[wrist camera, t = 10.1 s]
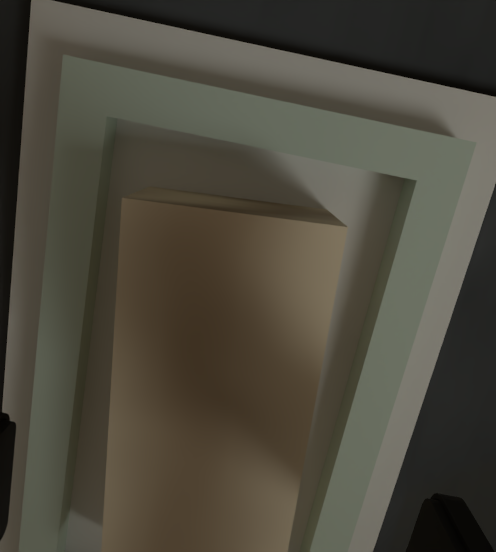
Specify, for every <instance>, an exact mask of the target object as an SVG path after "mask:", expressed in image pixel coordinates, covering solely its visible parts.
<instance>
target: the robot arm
mask: <svg viewBox="0 0 496 552" xmlns="http://www.w3.org/2000/svg"><path fill="white" fill-rule="evenodd" d="M15 437H16V423H15V422H13V421H10V417H9V415H8V414H7V413H3V412H0V541H1V539H2V537H3V535H4V533H5V530H6V528H7V524H8V517H9V506H10V494H11V483H12V471H13V460H14V448H15ZM406 552H494V550H493V549H492V547H491V545H490V543H489V542H488V540H487V538H486V537H485V535H484V533H483V532H482V530H481V528H480V527H479V525H478V523H477V522H476V520H475V518H474V517H473V515H472V513H471V512H470V510H469V508H468V507H467V505H466V503H465V502H464V501H463V499H461V498H459V497H454V496H448V495H443V494H438V493H436V494H434V495H433V496H432V497H431V499H425V500H424V502H423V504H422V507H421V510H420V513H419V515H418V518H417V521H416V524H415V527H414V530H413V533H412V536H411V539H410V541H409V544H408V547H407V550H406Z"/></svg>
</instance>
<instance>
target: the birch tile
mask: <svg viewBox="0 0 496 552" xmlns="http://www.w3.org/2000/svg"><path fill="white" fill-rule="evenodd" d="M347 230H348V227H347V226H346V225H345V224H344V223H342V222H341V221H340V220H339V219H338V218H336V217H335V216H334V215H333V214H332V213H331V212H329V211H328V210H326V209H319V208H311V207H303V206H296V205H288V204H280V203H273V202H265V201H257V200H250V199H242V198H234V197H227V196H219V195H212V194H204V193H196V192H189V191H181V190H173V189H166V188H158V187H147V188H145V189H142V190H140V191H138V192H135V193H133V194H130V195H128V196H125V197H123V198H122V204H121V221H120V238H119V255H118V272H117V289H116V307H115V324H114V341H113V358H112V375H111V392H110V409H109V426H108V444H107V461H106V478H105V495H104V512H103V529H102V546H101V552H288V547H289V541H290V536H291V531H292V525H293V520H294V514H295V509H296V504H297V498H298V493H299V488H300V482H301V477H302V471H303V466H304V461H305V455H306V450H307V445H308V439H309V434H310V428H311V423H312V418H313V412H314V407H315V402H316V396H317V391H318V386H319V380H320V375H321V369H322V364H323V359H324V353H325V348H326V343H327V337H328V332H329V326H330V321H331V316H332V310H333V305H334V300H335V294H336V289H337V283H338V278H339V273H340V267H341V262H342V257H343V251H344V246H345V240H346V235H347Z"/></svg>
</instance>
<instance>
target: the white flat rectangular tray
mask: <svg viewBox="0 0 496 552" xmlns="http://www.w3.org/2000/svg"><path fill="white" fill-rule="evenodd" d="M495 183H496V97H493V96H489V95H484V94H480V93H475V92H470V91H466V90H461V89H457V88H452V87H447V86H443V85H438V84H434V83H429V82H424V81H420V80H415V79H411V78H406V77H401V76H397V75H392V74H388V73H383V72H378V71H374V70H369V69H365V68H360V67H355V66H351V65H346V64H342V63H337V62H333V61H328V60H323V59H319V58H314V57H310V56H305V55H300V54H296V53H291V52H287V51H282V50H277V49H273V48H268V47H264V46H259V45H254V44H250V43H245V42H241V41H236V40H231V39H227V38H222V37H218V36H213V35H208V34H204V33H199V32H195V31H190V30H186V29H181V28H176V27H172V26H167V25H163V24H158V23H153V22H149V21H144V20H140V19H135V18H130V17H126V16H121V15H117V14H112V13H107V12H103V11H98V10H94V9H89V8H84V7H80V6H75V5H71V4H66V3H61V2H57V1H52V0H31V12H30V26H29V40H28V54H27V68H26V82H25V96H24V110H23V124H22V138H21V152H20V166H19V180H18V194H17V208H16V222H15V236H14V250H13V264H12V279H11V293H10V307H9V321H8V335H7V349H6V363H5V377H4V391H3V405H2V412H3V413H7V414H8V415H9V417H10V421H13V422H15V423H16V437H15V448H14V460H13V471H12V483H11V494H10V506H9V517H8V524H7V528H6V530H5V533H4V535H3V537H2V539H1V541H0V552H101V546H102V529H103V512H104V495H105V478H106V461H107V444H108V426H109V409H110V392H111V375H112V358H113V341H114V324H115V307H116V289H117V272H118V255H119V238H120V221H121V204H122V198H123V197H125V196H128V195H130V194H133V193H135V192H138V191H140V190H142V189H145V188H147V187H158V188H166V189H173V190H181V191H189V192H196V193H204V194H212V195H219V196H227V197H234V198H242V199H250V200H257V201H265V202H273V203H280V204H288V205H296V206H303V207H311V208H319V209H326V210H328V211H329V212H331V213H332V214H333V215H334V216H335V217H336V218H338V219H339V220H340V221H341V222H342V223H344V224H345V225H346V226H347V227H348V230H347V235H346V240H345V246H344V251H343V257H342V262H341V267H340V273H339V278H338V283H337V289H336V294H335V300H334V305H333V310H332V316H331V321H330V326H329V332H328V337H327V343H326V348H325V353H324V359H323V364H322V369H321V375H320V380H319V386H318V391H317V396H316V402H315V407H314V412H313V418H312V423H311V428H310V434H309V439H308V445H307V450H306V455H305V461H304V466H303V471H302V477H301V482H300V488H299V493H298V498H297V504H296V509H295V514H294V520H293V525H292V531H291V536H290V541H289V547H288V552H373V550H374V547H375V544H376V541H377V538H378V535H379V532H380V529H381V526H382V523H383V520H384V517H385V514H386V511H387V508H388V505H389V502H390V499H391V496H392V493H393V490H394V487H395V484H396V481H397V478H398V475H399V472H400V469H401V466H402V463H403V460H404V457H405V454H406V451H407V448H408V445H409V442H410V439H411V436H412V433H413V430H414V427H415V424H416V421H417V418H418V415H419V412H420V409H421V406H422V403H423V400H424V397H425V394H426V391H427V387H428V384H429V381H430V378H431V375H432V372H433V369H434V366H435V363H436V360H437V357H438V354H439V351H440V348H441V345H442V342H443V339H444V336H445V333H446V330H447V327H448V324H449V321H450V318H451V315H452V312H453V309H454V306H455V303H456V300H457V297H458V294H459V291H460V288H461V285H462V282H463V279H464V276H465V273H466V270H467V267H468V264H469V261H470V258H471V255H472V252H473V249H474V246H475V243H476V240H477V237H478V234H479V231H480V228H481V225H482V222H483V219H484V216H485V213H486V210H487V207H488V204H489V201H490V198H491V195H492V192H493V189H494V186H495Z"/></svg>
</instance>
